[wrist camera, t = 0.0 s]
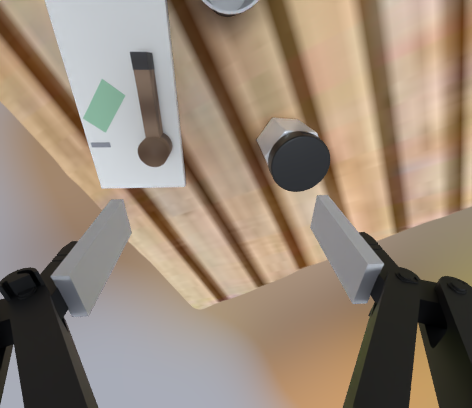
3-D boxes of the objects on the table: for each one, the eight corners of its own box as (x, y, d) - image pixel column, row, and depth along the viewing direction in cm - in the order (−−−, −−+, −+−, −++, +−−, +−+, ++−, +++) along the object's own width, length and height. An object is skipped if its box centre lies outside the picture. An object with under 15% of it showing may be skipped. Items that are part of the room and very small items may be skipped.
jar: (310, 152, 44) (338, 179, 34) (269, 171, 46) (284, 203, 35) (295, 105, 40) (321, 120, 30) (250, 128, 41) (260, 149, 31)
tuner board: (41, -34, 30) (32, -39, 28) (163, -30, 31) (161, -34, 29) (105, 184, 45) (101, 188, 44) (186, 183, 46) (185, 187, 44)
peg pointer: (128, 52, 33) (117, 51, 30) (160, 52, 34) (153, 51, 30) (147, 157, 41) (140, 167, 37) (174, 157, 41) (169, 166, 38)
